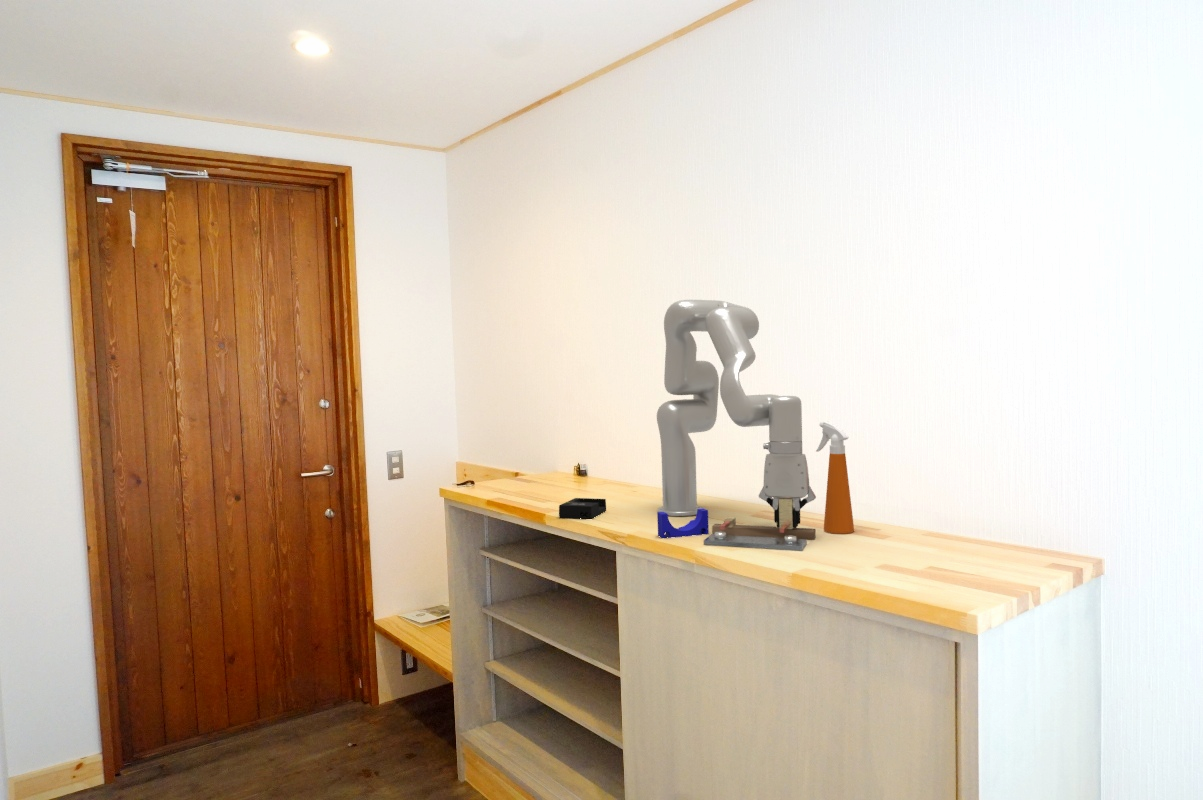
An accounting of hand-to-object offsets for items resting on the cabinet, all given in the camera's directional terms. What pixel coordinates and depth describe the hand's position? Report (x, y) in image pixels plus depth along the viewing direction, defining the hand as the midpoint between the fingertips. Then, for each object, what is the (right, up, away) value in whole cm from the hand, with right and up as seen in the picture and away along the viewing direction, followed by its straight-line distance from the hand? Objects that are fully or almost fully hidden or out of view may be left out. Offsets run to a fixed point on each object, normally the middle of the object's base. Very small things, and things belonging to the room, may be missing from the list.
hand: (787, 525), depth 184 cm
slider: (-1, -1, -3) cm, 3 cm away
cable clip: (-24, -4, +6) cm, 25 cm away
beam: (-6, -3, 0) cm, 7 cm away
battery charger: (-49, -3, +37) cm, 61 cm away
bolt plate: (-9, -3, -6) cm, 11 cm away
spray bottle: (+13, -2, +7) cm, 15 cm away
